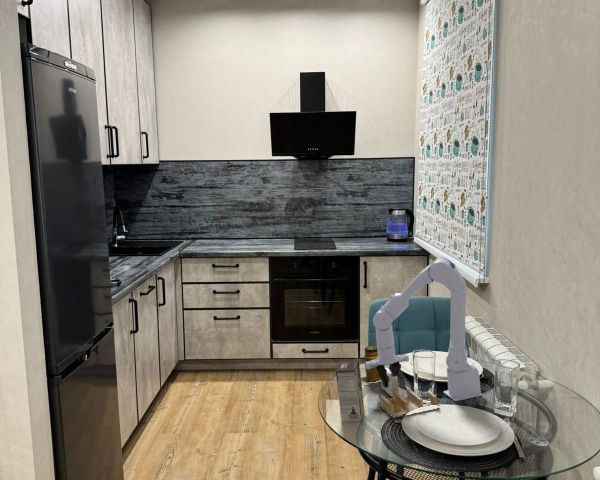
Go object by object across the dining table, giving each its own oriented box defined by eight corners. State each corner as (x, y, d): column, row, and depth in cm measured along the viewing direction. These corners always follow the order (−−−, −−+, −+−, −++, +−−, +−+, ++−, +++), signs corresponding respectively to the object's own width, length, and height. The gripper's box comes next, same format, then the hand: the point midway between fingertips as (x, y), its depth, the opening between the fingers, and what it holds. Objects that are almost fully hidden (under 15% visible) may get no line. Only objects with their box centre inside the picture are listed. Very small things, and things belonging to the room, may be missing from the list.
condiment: (387, 381, 196) (384, 348, 195) (364, 385, 194) (361, 352, 193) (380, 374, 203) (377, 342, 202) (358, 378, 201) (354, 346, 200)
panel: (388, 387, 190) (386, 367, 189) (399, 396, 181) (397, 376, 180) (381, 388, 189) (379, 368, 189) (392, 398, 181) (390, 377, 180)
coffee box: (344, 409, 177) (339, 360, 175) (364, 408, 176) (359, 359, 174) (340, 422, 168) (335, 371, 166) (362, 421, 167) (356, 370, 165)
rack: (422, 394, 181) (421, 383, 181) (439, 408, 170) (438, 397, 169) (378, 403, 178) (377, 392, 178) (393, 418, 166) (391, 406, 166)
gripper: (401, 339, 189) (405, 377, 190) (360, 346, 186) (365, 385, 187) (410, 344, 182) (413, 384, 184) (368, 352, 179) (372, 393, 180)
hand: (389, 385), depth 185 cm, fingers closed on panel, 2 cm apart
